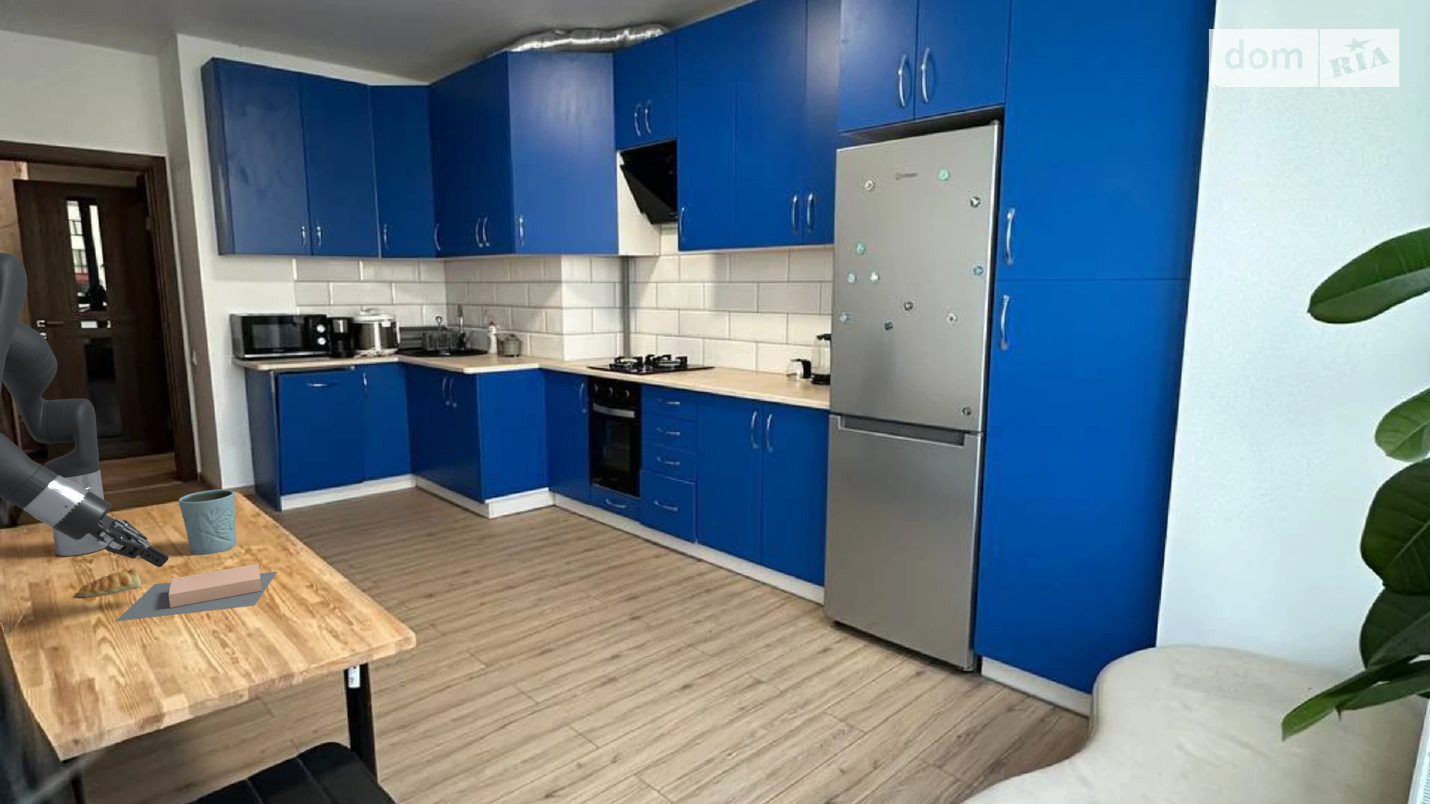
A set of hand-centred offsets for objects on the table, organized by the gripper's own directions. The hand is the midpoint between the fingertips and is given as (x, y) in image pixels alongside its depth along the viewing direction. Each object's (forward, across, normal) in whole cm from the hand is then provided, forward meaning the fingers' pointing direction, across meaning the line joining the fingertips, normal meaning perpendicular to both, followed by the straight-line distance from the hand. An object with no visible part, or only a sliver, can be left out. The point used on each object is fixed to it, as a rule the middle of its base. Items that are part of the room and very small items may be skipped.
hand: (164, 562), depth 139 cm
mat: (+9, 0, +2) cm, 9 cm away
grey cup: (+10, +31, +1) cm, 33 cm away
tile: (+4, 0, +4) cm, 6 cm away
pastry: (0, +12, +12) cm, 17 cm away
